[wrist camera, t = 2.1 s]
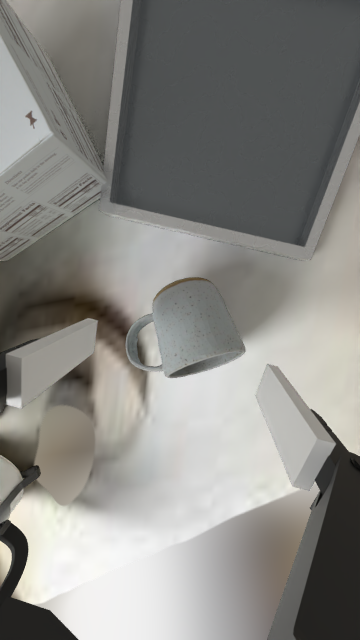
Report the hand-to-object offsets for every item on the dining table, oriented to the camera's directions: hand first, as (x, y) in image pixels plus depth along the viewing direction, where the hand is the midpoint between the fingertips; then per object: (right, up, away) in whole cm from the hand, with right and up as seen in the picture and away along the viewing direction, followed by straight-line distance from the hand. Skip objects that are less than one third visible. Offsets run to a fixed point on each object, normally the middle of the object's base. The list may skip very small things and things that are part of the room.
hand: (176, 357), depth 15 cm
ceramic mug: (+1, +3, +10) cm, 10 cm away
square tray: (+5, +22, +4) cm, 23 cm away
